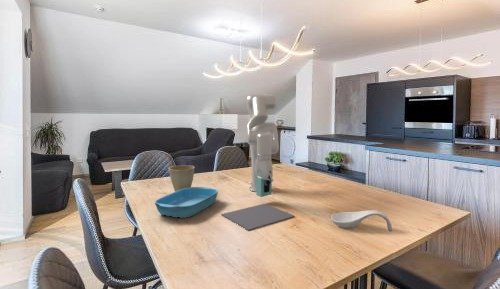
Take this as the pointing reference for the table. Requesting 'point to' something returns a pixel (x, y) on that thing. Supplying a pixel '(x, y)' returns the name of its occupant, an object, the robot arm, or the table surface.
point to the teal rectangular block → (262, 187)
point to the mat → (257, 216)
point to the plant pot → (181, 176)
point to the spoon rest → (356, 218)
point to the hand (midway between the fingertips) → (264, 190)
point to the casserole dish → (186, 201)
